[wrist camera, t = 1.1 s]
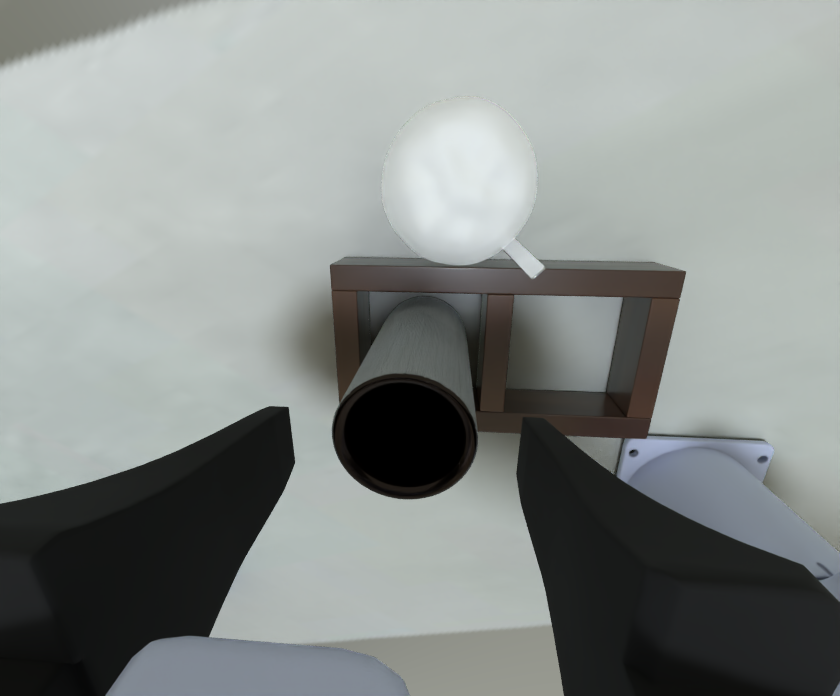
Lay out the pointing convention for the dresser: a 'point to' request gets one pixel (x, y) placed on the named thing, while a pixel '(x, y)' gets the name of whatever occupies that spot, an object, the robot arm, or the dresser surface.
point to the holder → (498, 283)
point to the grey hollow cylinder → (410, 405)
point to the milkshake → (461, 183)
